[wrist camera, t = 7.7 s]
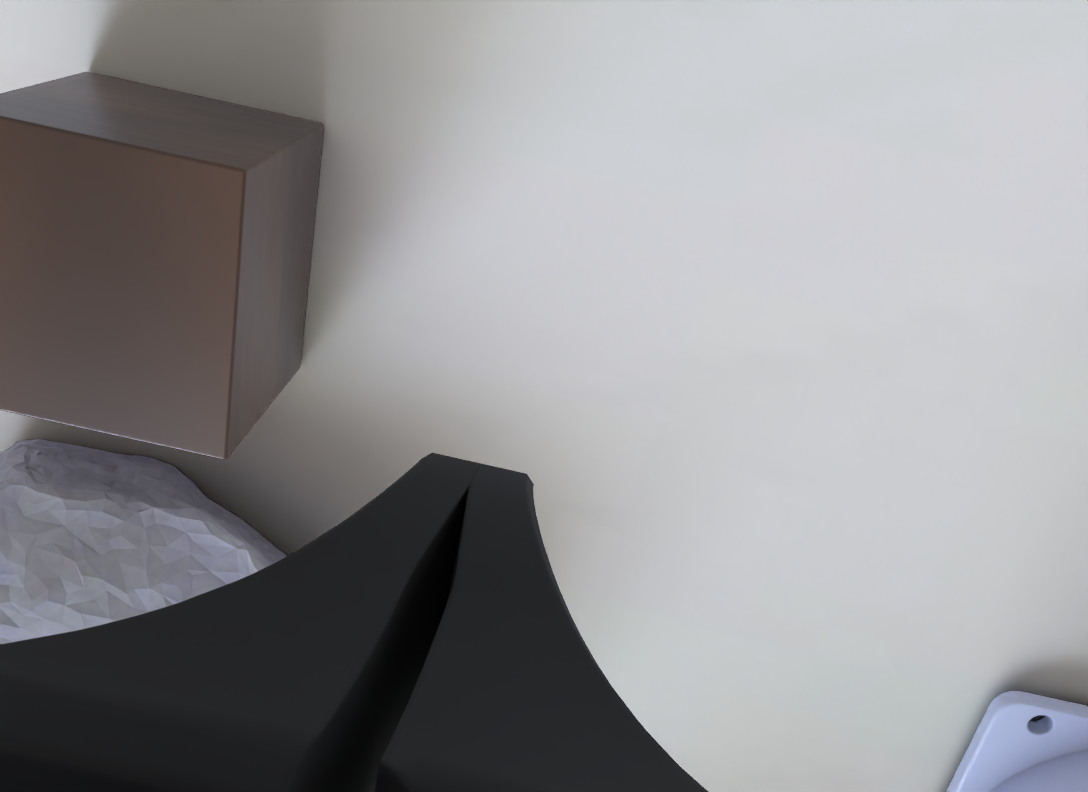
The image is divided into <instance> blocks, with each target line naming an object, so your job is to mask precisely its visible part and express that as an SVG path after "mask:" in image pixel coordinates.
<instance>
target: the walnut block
mask: <svg viewBox="0 0 1088 792" xmlns="http://www.w3.org/2000/svg"><path fill="white" fill-rule="evenodd" d="M323 134H324V124H322V123H319V122H314V121H310V120H305V119H301V118H296V117H292V116H287V115H282V114H278V113H273V112H269V111H264V110H260V109H255V108H250V107H246V106H241V105H237V104H232V103H228V102H223V101H218V100H214V99H209V98H205V97H200V96H196V95H191V94H186V93H182V92H177V91H173V90H168V89H164V88H159V87H154V86H150V85H145V84H141V83H136V82H132V81H127V80H122V79H118V78H113V77H109V76H104V75H100V74H95V73H90V72H84V73H80V74H76V75H72V76H68V77H64V78H60V79H56V80H52V81H48V82H44V83H40V84H36V85H32V86H29V87H25V88H21V89H17V90H13V91H9V92H5V93H1V94H0V410H2V411H7V412H11V413H16V414H20V415H25V416H29V417H34V418H38V419H43V420H48V421H52V422H57V423H61V424H66V425H70V426H75V427H79V428H84V429H88V430H93V431H97V432H102V433H106V434H111V435H115V436H120V437H124V438H129V439H133V440H138V441H142V442H147V443H152V444H156V445H161V446H165V447H170V448H174V449H179V450H183V451H188V452H192V453H197V454H201V455H206V456H210V457H215V458H219V459H227V458H228V456H229V455H230V454H231V453H232V451H233V450H234V449H235V448H236V446H237V445H238V444H239V443H240V441H241V440H242V439H243V438H244V436H245V435H246V434H247V433H248V432H249V430H250V429H251V428H252V427H253V425H254V424H255V423H256V422H257V420H258V419H259V418H260V417H261V415H262V414H263V413H264V412H265V410H266V409H267V408H268V407H269V405H270V404H271V403H272V402H273V400H274V399H275V398H276V397H277V395H278V394H279V393H280V392H281V390H282V389H283V388H284V387H285V386H286V384H287V383H288V382H289V381H290V379H291V378H292V377H293V376H294V374H295V373H296V372H297V371H298V369H299V368H300V364H301V354H302V344H303V334H304V324H305V314H306V304H307V294H308V284H309V274H310V264H311V254H312V244H313V234H314V224H315V214H316V204H317V194H318V184H319V174H320V164H321V154H322V144H323Z"/></svg>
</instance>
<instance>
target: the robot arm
mask: <svg viewBox="0 0 1088 792" xmlns="http://www.w3.org/2000/svg"><path fill="white" fill-rule="evenodd" d="M533 485H534V484H533V483H532V481H531V480H530V478H529V476H528V475H527V474H525V473H520V472H516V471H511V470H507V469H502V468H498V467H493V466H489V465H485V464H480V463H476V462H471V461H467V460H462V459H458V458H453V457H449V456H444V455H440V454H436V453H431V454H429V455H428V456H426V457H424V458H422V459H421V460H420V461H419V462H418V463H417V464H416V465H415V466H413V467H412V468H411V469H410V470H409V471H408V472H407V473H405V474H404V475H403V476H402V477H401V478H400V479H398V480H397V481H396V482H395V483H394V484H392V485H391V486H390V487H389V488H387V489H386V490H385V491H384V492H382V493H381V494H380V495H379V496H377V497H376V498H375V499H373V500H372V501H370V502H369V503H368V504H366V505H365V506H364V507H362V508H361V509H360V510H358V511H357V512H356V513H354V514H353V515H352V516H350V517H349V518H347V519H346V520H344V521H343V522H342V523H340V524H339V525H337V526H335V527H334V528H332V529H331V530H329V531H328V532H326V533H324V534H323V535H321V536H320V537H318V538H317V539H315V540H313V541H312V542H310V543H309V544H307V545H306V546H304V547H302V548H301V549H299V550H297V551H296V552H294V553H292V554H290V555H288V556H287V557H285V558H283V559H281V560H279V561H277V562H276V563H274V564H272V565H270V566H268V567H265V568H263V569H261V570H259V571H257V572H255V573H253V574H251V575H249V576H246V577H244V578H242V579H240V580H237V581H235V582H232V583H229V584H227V585H224V586H222V587H219V588H216V589H214V590H211V591H208V592H206V593H203V594H200V595H198V596H195V597H193V598H190V599H187V600H185V601H182V602H179V603H176V604H173V605H170V606H167V607H164V608H161V609H157V610H154V611H151V612H147V613H144V614H141V615H137V616H134V617H130V618H126V619H122V620H118V621H114V622H110V623H107V624H103V625H99V626H94V627H90V628H86V629H81V630H77V631H71V632H66V633H60V634H55V635H49V636H44V637H38V638H33V639H27V640H22V641H16V642H11V643H6V644H0V792H708V791H707V790H706V789H705V788H703V787H702V786H701V785H700V784H699V783H698V782H697V781H696V780H694V779H693V778H692V777H691V776H690V775H689V774H688V773H687V772H685V771H684V770H683V769H682V768H681V767H680V766H679V765H678V764H677V763H676V762H675V761H674V760H673V759H672V758H671V757H670V756H669V755H668V753H667V752H666V751H665V750H664V749H663V748H662V747H661V746H660V745H659V744H658V743H657V742H656V741H655V740H654V738H653V737H652V736H651V735H650V734H649V733H648V732H647V731H646V730H645V729H644V727H643V726H642V725H641V724H640V723H639V721H638V720H637V719H636V718H635V716H634V715H633V714H632V712H631V711H630V710H629V708H628V707H627V706H626V705H625V703H624V702H623V701H622V699H621V698H620V697H619V695H618V694H617V693H616V692H615V690H614V689H613V688H612V686H611V685H610V683H609V682H608V680H607V679H606V677H605V675H604V674H603V672H602V671H601V669H600V668H599V666H598V665H597V663H596V661H595V660H594V658H593V656H592V654H591V653H590V651H589V649H588V647H587V646H586V644H585V642H584V640H583V639H582V637H581V635H580V633H579V631H578V629H577V627H576V625H575V623H574V621H573V619H572V617H571V615H570V613H569V610H568V608H567V606H566V603H565V601H564V599H563V597H562V594H561V592H560V590H559V587H558V585H557V582H556V579H555V577H554V574H553V571H552V568H551V565H550V562H549V559H548V556H547V553H546V550H545V547H544V544H543V541H542V537H541V534H540V530H539V525H538V521H537V517H536V512H535V506H534V498H533ZM1038 715H1043V716H1044V717H1043V718H1042V719H1041V720H1038V721H1030V720H1031V719H1032V718H1033V717H1036V716H1038ZM946 792H1088V706H1086V705H1081V704H1077V703H1072V702H1068V701H1063V700H1059V699H1054V698H1050V697H1045V696H1041V695H1036V694H1031V693H1027V692H1022V691H1009V692H1004V693H1002V694H1000V695H998V696H997V697H995V698H994V699H993V701H992V702H991V703H990V705H989V707H988V709H987V711H986V713H985V715H984V717H983V719H982V721H981V723H980V725H979V727H978V729H977V731H976V733H975V735H974V737H973V739H972V741H971V743H970V745H969V747H968V749H967V750H966V752H965V754H964V756H963V758H962V760H961V762H960V764H959V766H958V768H957V770H956V772H955V774H954V776H953V778H952V780H951V782H950V784H949V786H948V788H947V790H946Z"/></svg>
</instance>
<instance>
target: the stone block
mask: <svg viewBox="0 0 1088 792" xmlns="http://www.w3.org/2000/svg"><path fill="white" fill-rule="evenodd" d="M285 557H287V555H285V554H284V553H283V552H281V551H280V550H279V549H277V548H276V547H275V546H274V545H272V544H271V543H270V542H269V541H268V540H266V539H265V538H264V537H263V536H262V535H260V534H259V533H258V532H257V531H256V530H254V529H253V528H252V527H251V526H250V525H248V524H247V523H246V522H245V521H243V520H242V519H241V518H239V517H237V516H236V515H234V514H233V513H231V512H229V511H228V510H226V509H225V508H223V507H221V506H220V505H218V504H217V503H215V502H213V501H212V500H210V499H208V498H207V497H206V496H205V495H204V494H203V493H202V492H201V491H200V490H199V489H198V488H197V486H196V485H195V484H194V482H193V481H192V480H190V479H189V478H187V477H186V476H185V475H183V474H182V473H181V472H180V471H179V470H178V469H177V468H175V467H174V466H172V465H170V464H167V463H164V462H162V461H159V460H156V459H154V458H150V457H146V456H141V455H124V454H118V453H112V452H107V451H103V450H98V449H93V448H88V447H83V446H77V445H72V444H67V443H62V442H51V441H46V440H41V439H27V440H22V441H18V442H16V443H15V444H14V445H13V446H12V447H10V448H8V449H6V450H5V451H3V452H1V453H0V644H6V643H11V642H16V641H22V640H27V639H33V638H38V637H44V636H49V635H55V634H60V633H66V632H71V631H77V630H81V629H86V628H90V627H94V626H99V625H103V624H107V623H110V622H114V621H118V620H122V619H126V618H130V617H134V616H137V615H141V614H144V613H147V612H151V611H154V610H157V609H161V608H164V607H167V606H170V605H173V604H176V603H179V602H182V601H185V600H187V599H190V598H193V597H195V596H198V595H200V594H203V593H206V592H208V591H211V590H214V589H216V588H219V587H222V586H224V585H227V584H229V583H232V582H235V581H237V580H240V579H242V578H244V577H246V576H249V575H251V574H253V573H255V572H257V571H259V570H261V569H263V568H265V567H268V566H270V565H272V564H274V563H276V562H277V561H279V560H281V559H283V558H285Z"/></svg>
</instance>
